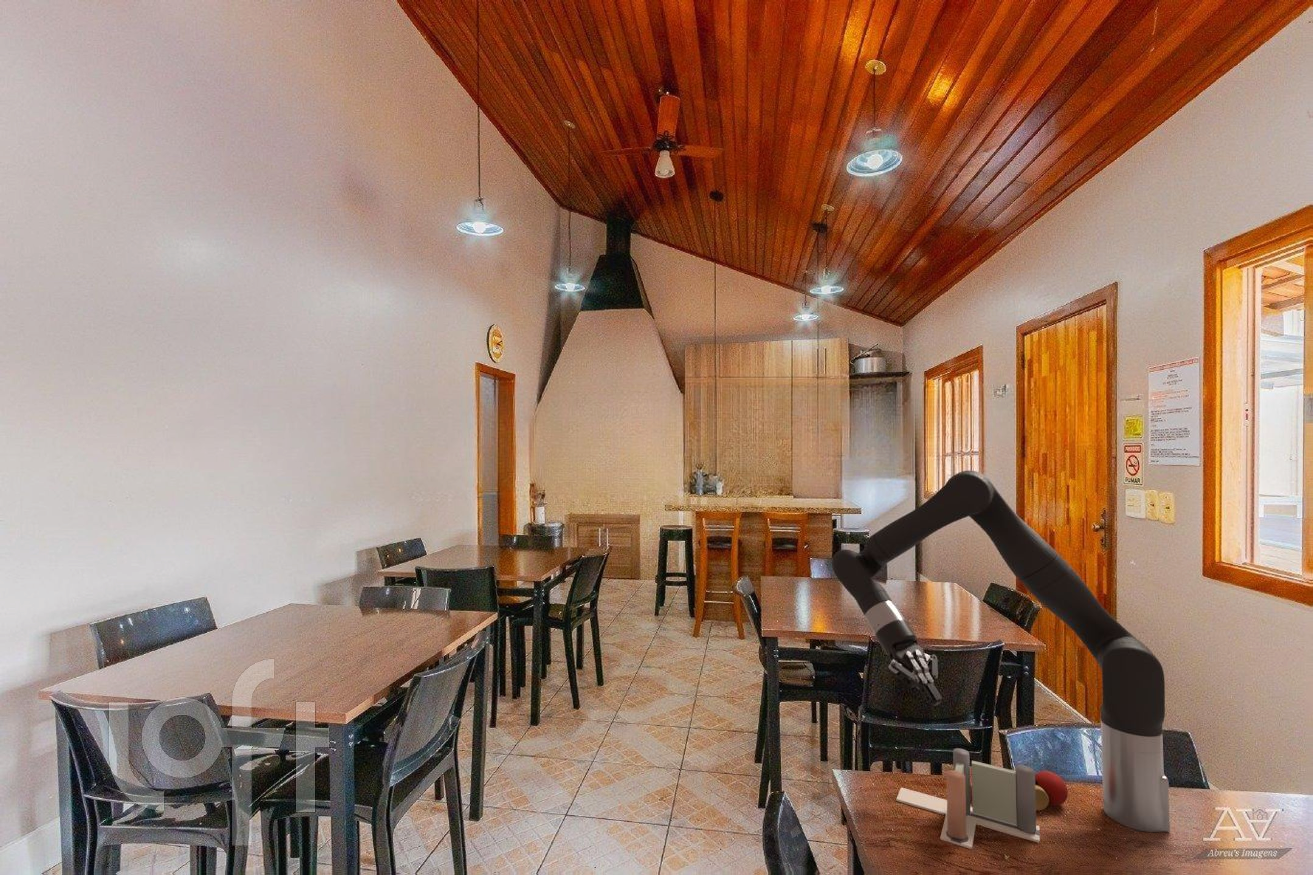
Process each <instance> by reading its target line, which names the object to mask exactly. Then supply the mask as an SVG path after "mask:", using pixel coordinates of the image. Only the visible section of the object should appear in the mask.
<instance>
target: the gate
mask: <svg viewBox="0 0 1313 875" xmlns="http://www.w3.org/2000/svg"><path fill="white" fill-rule="evenodd" d="M946 800H947V829H948V834H949V835H950V836H952V837H954V838H957V839H964V838H966V795H965V775H964V764H961V763H957V764H956V767H955V771H954V770H953V769H952V770H951V769H950V770H947V771H946Z"/></svg>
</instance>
